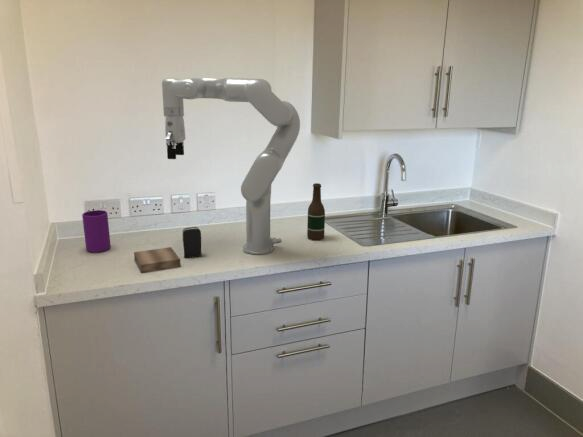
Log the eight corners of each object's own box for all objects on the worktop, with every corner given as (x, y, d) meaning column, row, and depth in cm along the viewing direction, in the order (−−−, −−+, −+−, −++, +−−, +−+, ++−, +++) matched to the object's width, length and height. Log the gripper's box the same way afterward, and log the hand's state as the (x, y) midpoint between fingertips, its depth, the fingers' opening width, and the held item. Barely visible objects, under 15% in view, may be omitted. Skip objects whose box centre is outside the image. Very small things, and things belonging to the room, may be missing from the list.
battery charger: (200, 253, 194) (199, 225, 191) (202, 256, 190) (201, 228, 187) (182, 255, 192) (181, 227, 188) (184, 258, 188) (182, 230, 185)
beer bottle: (304, 239, 211) (305, 184, 204) (310, 234, 218) (311, 181, 211) (321, 242, 208) (322, 186, 202) (326, 236, 215) (328, 183, 208)
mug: (87, 254, 191) (82, 217, 187) (84, 242, 205) (80, 207, 200) (112, 251, 195) (108, 214, 191) (107, 239, 208) (104, 205, 204)
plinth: (171, 254, 192) (171, 247, 192) (180, 266, 180) (179, 259, 180) (134, 259, 186) (133, 252, 186) (141, 272, 174) (140, 265, 174)
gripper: (176, 114, 179) (178, 161, 184) (190, 110, 195) (191, 153, 200) (155, 113, 179) (158, 160, 184) (171, 110, 196) (173, 153, 201)
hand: (176, 156), depth 192 cm, fingers open, 9 cm apart
